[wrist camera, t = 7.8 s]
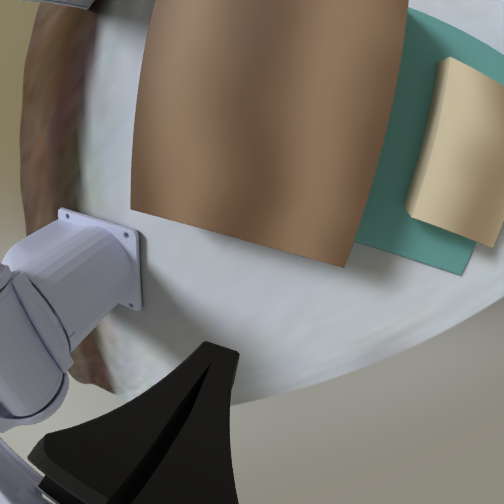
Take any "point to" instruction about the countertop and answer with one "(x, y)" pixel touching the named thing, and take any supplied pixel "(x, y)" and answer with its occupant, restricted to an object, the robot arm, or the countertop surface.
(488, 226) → the cream rectangular block
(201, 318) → the countertop surface
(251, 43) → the block
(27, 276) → the robot arm
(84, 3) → the medicine box
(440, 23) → the mat
